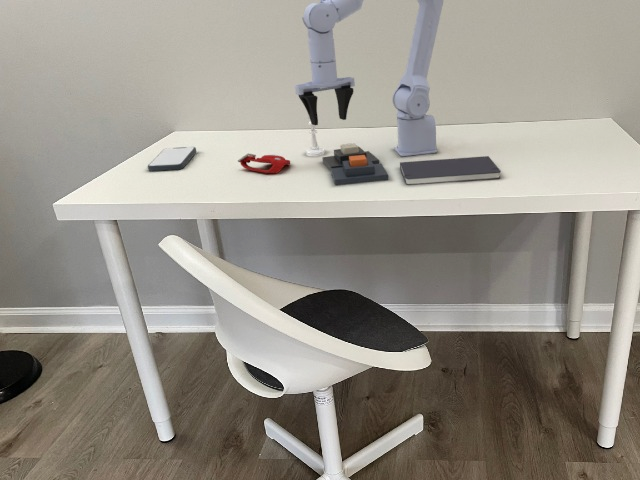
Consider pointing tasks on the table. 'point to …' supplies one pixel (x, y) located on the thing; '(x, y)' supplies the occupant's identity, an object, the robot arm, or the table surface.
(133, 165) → the table surface
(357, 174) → the slotted grey holder
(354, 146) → the cream key
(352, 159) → the orange key
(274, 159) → the red curved piece
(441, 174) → the notebook
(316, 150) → the chess piece
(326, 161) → the dark grey stepped base
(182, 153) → the phone case
